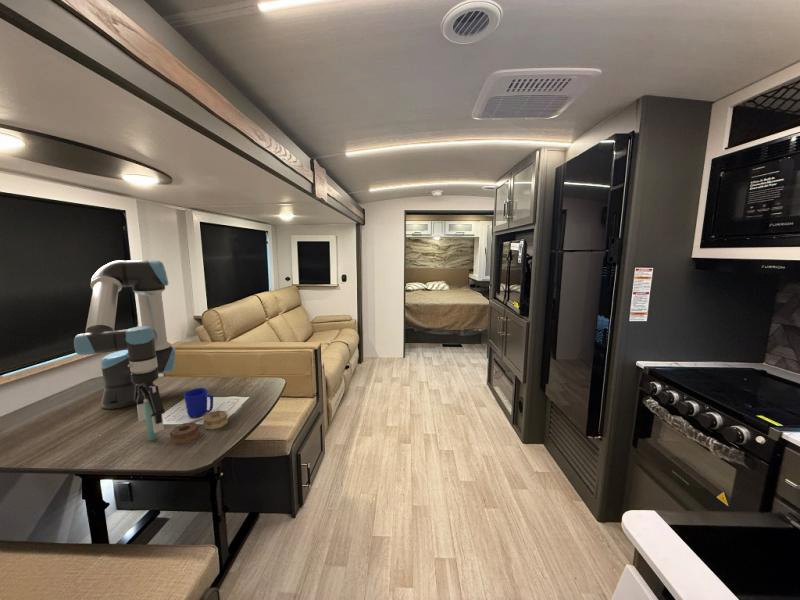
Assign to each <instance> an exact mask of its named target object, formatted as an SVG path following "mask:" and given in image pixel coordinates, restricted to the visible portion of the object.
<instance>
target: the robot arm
mask: <svg viewBox="0 0 800 600" xmlns="http://www.w3.org/2000/svg"><path fill="white" fill-rule="evenodd" d="M89 285H90V288H91V290H92V294H91V298H90V306H89V310H88V315H87V316H88V317H87V320H86V321H87V322H86V327H85V333H84V332H83V333H80V334H79V333H78V334H76V335H75V337H74V339H73V347H74V351H75V353H76V354H77V355H79V356H87V355H88V356H89V355H97V354H104V353H109V354H107V355H105V356H103V357H102V359H101V360H100V362H101V368H100V369H101V371H102V372H101V373H102V378H103V385H104V391H103V395H102V398H101V401H100V402H101V403H100V404H101V408H102V407H103V408H102V409H105V410H113V409H114V410H115V408H116V409H122V408H125V407H129V405H130V406H132V405H135V404H136V408H137V418H138V422H143V421H146V417H145V409H144V399H147V400H148V403H149V405H150V408H151V410H152V413H153V414H152V415H151V417H152V420H153V429H154V433H158V432H162V431H164V430H165V428H164V419H163V418H164V417H163V414H164V413H165V412H166V411H165V407H164V405H163V402H162V397H161V395H160V391H159V386H158V385H155V383H154V382H155V381H156V380H157V379H159V376H160V375H161V374H162V375H163V374H165V373H166V374H167V373H170V372H172V371H174V370H175V363H176V362H175V359H176V347H174V346H172V343H171V342H169V341H168V337H167V329H166V320H165V312H164V304H163V292H164V291H165V290H166V286H167V287H168V286H169V280H168V275H167V271H166V268H165V266H164V263H163V262H162V261H160V260H156V259H155V260H153V259H146V260H142V259H141V260H133V259H132V260H120V259H119V260H114V261H111V262H108V263H107V264H105V265H103V266H101V267H100V268H98V269H97V270H96V272H95V273H94V274H93V275H92V277H91V279H90V284H89ZM122 288H132V292H134V294H136V295H137V298H138V307H139V313H140V314H139V315H140V322H141V326H135V327H130V328H128V329H127V328H126V329H118V330H115V324H116V317H117V306H118V297H119V292H121V291H122Z"/></svg>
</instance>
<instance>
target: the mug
mask: <svg viewBox="0 0 800 600" xmlns="http://www.w3.org/2000/svg"><path fill="white" fill-rule="evenodd" d="M183 398H184V403H185V407H186V413H187V415H188V417H190V418H199V417H202V416H204V415H206V413H207V414H208V413H210V412H213V411H212V410H213V407H214V395H212V394H208V389H207V388H205V387H200V388H199V387H198V388H193V389H190V390H188V391H186V392H184V394H183ZM208 398H209V409H208Z"/></svg>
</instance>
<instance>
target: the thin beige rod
mask: <svg viewBox="0 0 800 600" xmlns="http://www.w3.org/2000/svg"><path fill="white" fill-rule="evenodd" d="M205 415H206V414H204V415H202V416H199V417H196V418H194V419H192V420H190V421H186V423H191V422H195V423H196V422H197V421H199V420H201V419H203V416H205Z"/></svg>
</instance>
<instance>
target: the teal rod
mask: <svg viewBox="0 0 800 600" xmlns="http://www.w3.org/2000/svg"><path fill="white" fill-rule="evenodd" d="M143 403H144V409H145V417H146V420H145V423H146V432H147V439H148V441H154V440H156V439H157V438H158V436H157V435H158V434H157V433H158V432H156V433H154V429H153V420H152V417H151V415H152V414H153V413H152V410H151V408H150V405H149V403H148V400H147V399H144V402H143Z"/></svg>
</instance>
